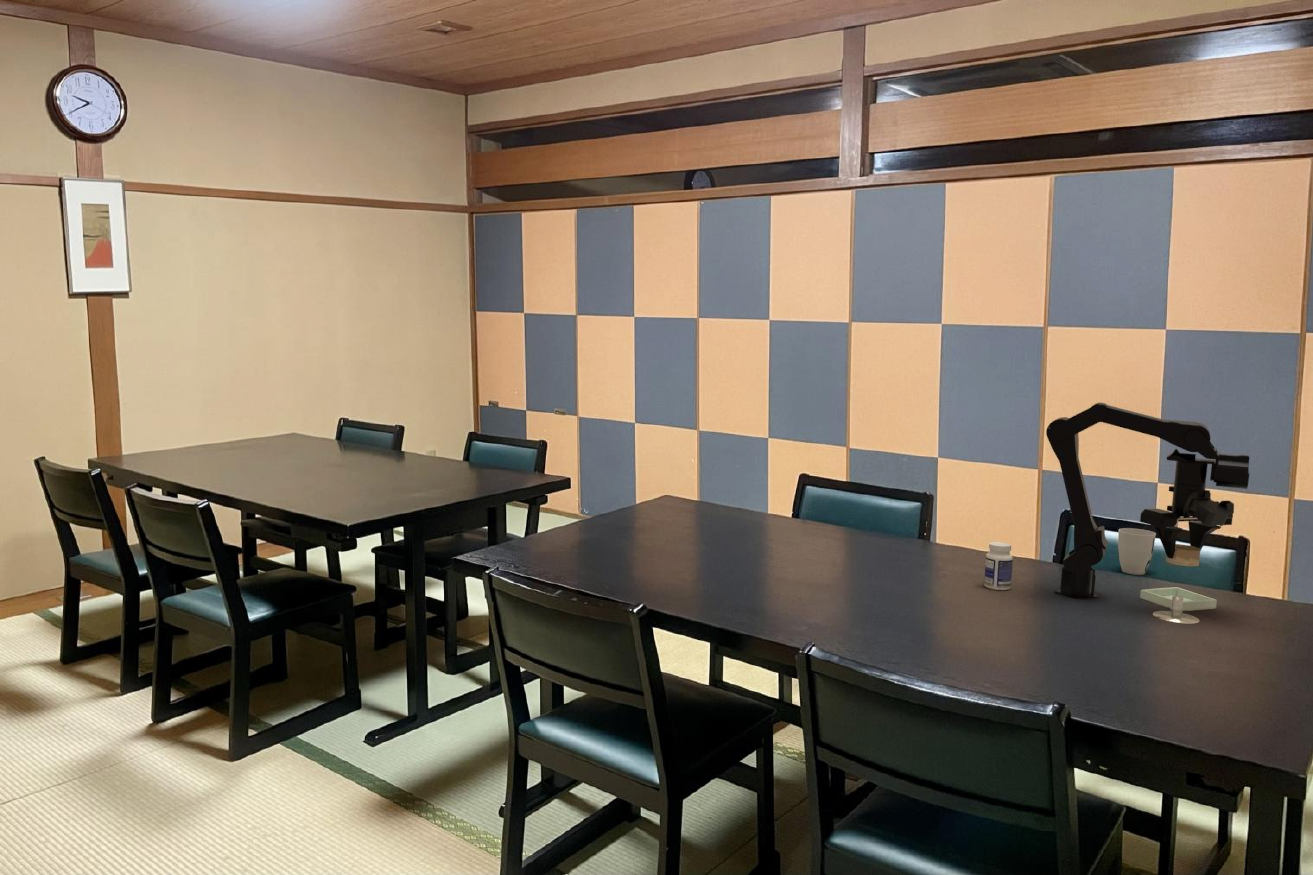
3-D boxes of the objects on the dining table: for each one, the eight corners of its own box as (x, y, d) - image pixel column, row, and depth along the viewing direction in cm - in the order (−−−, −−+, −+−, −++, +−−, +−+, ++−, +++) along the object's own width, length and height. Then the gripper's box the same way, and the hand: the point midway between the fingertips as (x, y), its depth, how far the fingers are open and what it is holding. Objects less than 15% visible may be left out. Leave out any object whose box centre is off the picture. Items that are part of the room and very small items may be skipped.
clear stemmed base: (1177, 626, 195) (1179, 604, 194) (1143, 614, 202) (1145, 592, 202) (1209, 623, 197) (1211, 601, 197) (1174, 611, 205) (1176, 590, 205)
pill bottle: (1011, 586, 222) (1015, 543, 220) (1009, 592, 216) (1012, 548, 215) (985, 582, 224) (988, 539, 223) (982, 588, 219) (985, 544, 218)
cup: (1156, 577, 233) (1160, 536, 232) (1119, 574, 235) (1123, 533, 234) (1146, 569, 241) (1150, 529, 240) (1111, 566, 243) (1114, 527, 242)
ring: (1182, 566, 201) (1183, 551, 200) (1159, 559, 206) (1160, 544, 206) (1205, 565, 202) (1206, 550, 202) (1182, 558, 208) (1183, 543, 208)
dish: (1178, 613, 204) (1179, 603, 204) (1139, 599, 213) (1140, 589, 213) (1215, 610, 207) (1216, 599, 207) (1175, 596, 217) (1176, 587, 217)
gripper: (1184, 491, 192) (1177, 569, 194) (1259, 489, 197) (1250, 565, 199) (1141, 481, 203) (1134, 555, 204) (1213, 480, 208) (1205, 552, 210)
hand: (1182, 557), depth 204 cm, fingers closed on ring, 6 cm apart
